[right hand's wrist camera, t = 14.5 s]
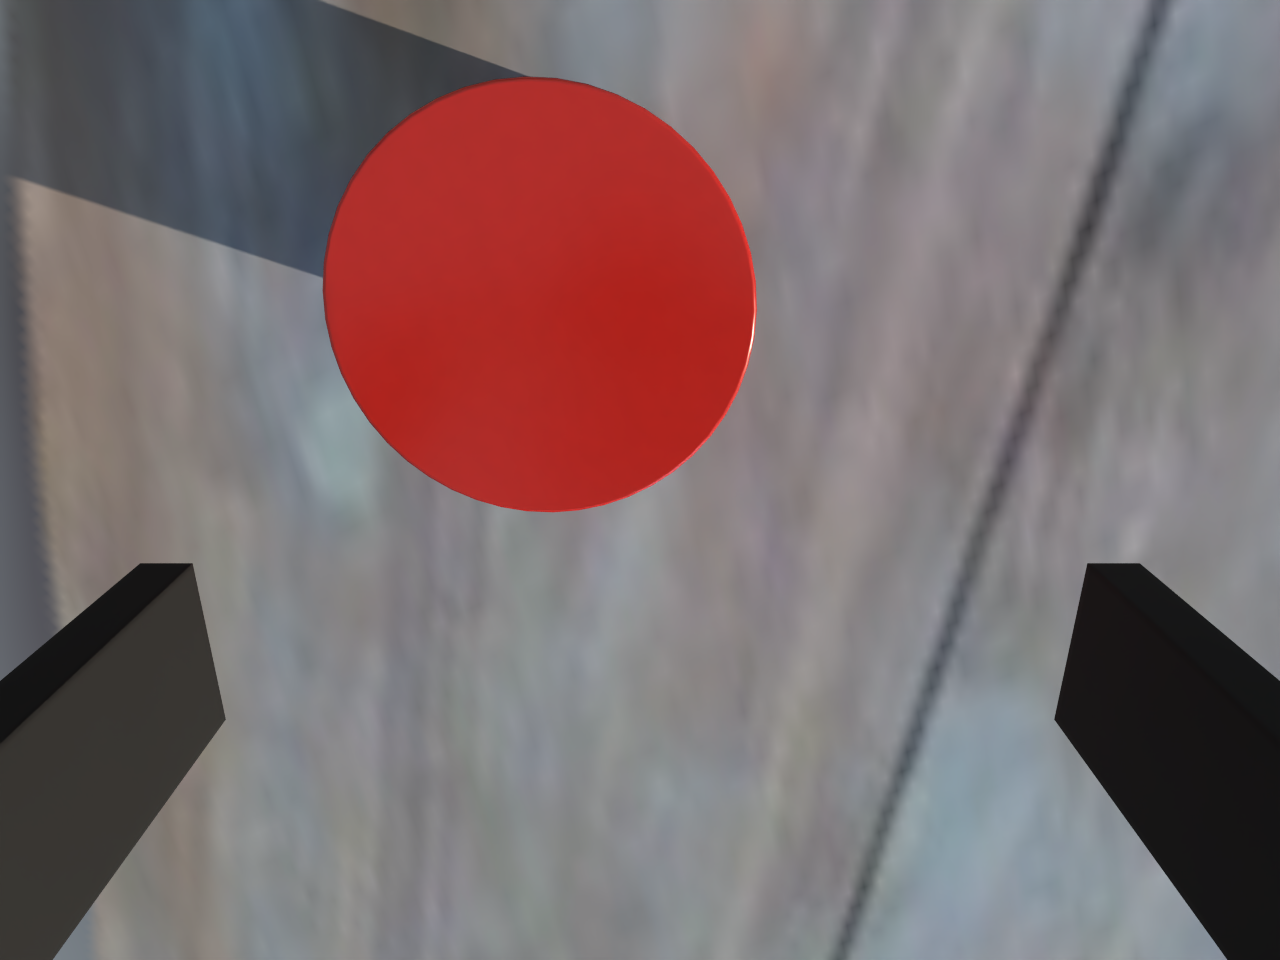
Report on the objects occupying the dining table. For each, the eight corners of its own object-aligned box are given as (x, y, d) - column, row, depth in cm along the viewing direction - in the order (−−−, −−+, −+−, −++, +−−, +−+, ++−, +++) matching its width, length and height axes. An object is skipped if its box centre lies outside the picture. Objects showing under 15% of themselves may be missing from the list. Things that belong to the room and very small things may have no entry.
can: (423, 147, 25) (246, 157, 14) (670, 68, 25) (694, 11, 13) (509, 385, 28) (418, 556, 17) (733, 321, 27) (798, 454, 16)
